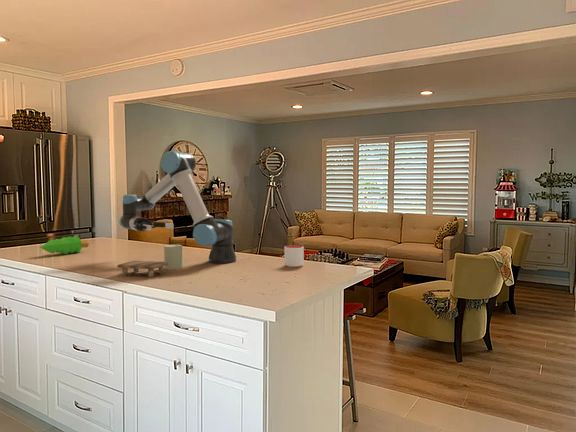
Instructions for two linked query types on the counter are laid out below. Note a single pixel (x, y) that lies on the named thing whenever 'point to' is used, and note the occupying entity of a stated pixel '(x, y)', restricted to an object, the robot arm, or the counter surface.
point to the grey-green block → (173, 257)
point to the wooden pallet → (142, 267)
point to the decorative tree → (65, 245)
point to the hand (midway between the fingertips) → (162, 227)
